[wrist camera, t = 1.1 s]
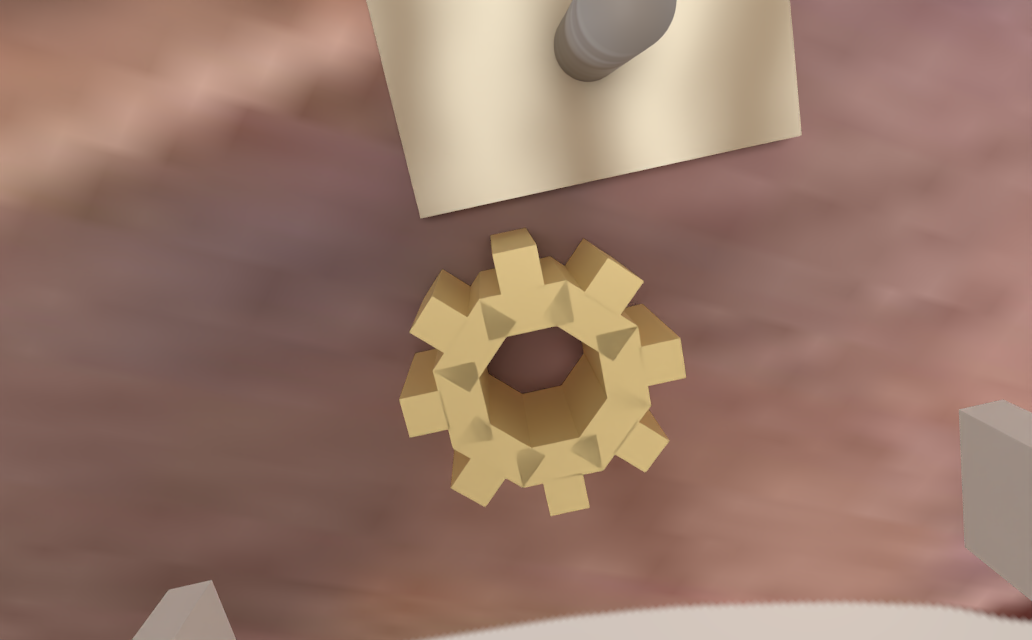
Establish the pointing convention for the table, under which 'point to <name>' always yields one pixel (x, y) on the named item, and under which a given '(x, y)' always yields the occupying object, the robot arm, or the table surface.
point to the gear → (549, 412)
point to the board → (578, 89)
